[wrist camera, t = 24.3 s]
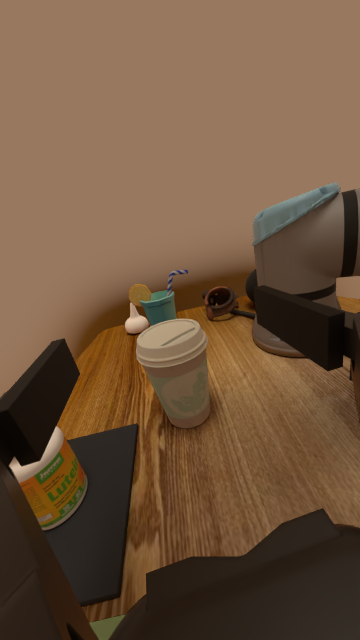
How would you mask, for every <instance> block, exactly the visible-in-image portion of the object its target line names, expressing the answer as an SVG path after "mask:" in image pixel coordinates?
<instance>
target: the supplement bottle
mask: <svg viewBox="0 0 360 640" xmlns="http://www.w3.org/2000/svg"><path fill="white" fill-rule="evenodd" d="M9 466H10V468H11V469H12V471H13V472H14V474H15V476H16V478H17V480H18V482H19V484H20V486H21V488H22V490H23V492H24V494H25V496H26V498H27V500H28V502H29V504H30V506H31V508H32V510H33V512H34V514H35V516H36V518H37V520H38V522H39V524H40V526H41V528H42V530H49V529H52V528H54V527H56V526H58V525H60V524H61V523H63V522H64V521H66V520H67V519H68V518H69V517H70V516H71V515H72V514H73V513H74V512H75V511H76V510H77V508H78V507H79V505H80V504H81V502H82V500H83V498H84V496H85V493H86V490H87V477H86V474H85V472H84V470H83V469H82V467H81V465H80V463H79V462H78V460H77V458H76V456H75V454H74V453H73V451H72V449H71V447H70V445H69V444H68V442H67V440H66V438H65V437H64V435H63V433H62V431H61V430H60V429H59V428H58V427H57V426H56V428H55V430H54V432H53V434H52V436H51V439H50V441H49V443H48V445H47V447H46V450H45V452H44V454H43V456H42V458H41V461H38V462H35V463H32V464H29V465H25V466H22V467H21V465H20V464H19V462H18V461H17V460H16V458H15V457H14V458H13V460H12V462H11V463H10V465H9Z"/></svg>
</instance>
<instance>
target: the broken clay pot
mask: <svg viewBox="0 0 360 640" xmlns="http://www.w3.org/2000/svg"><path fill="white" fill-rule="evenodd" d="M216 293H218V295H215V294H216ZM202 297H203V299H204V300H205V307H206V309H207V316H208V318H210V319H211V320H213V317H218V316H221V315H224V314H227V313H228V311H231V310H232V309H233V308H234V307H237V308H238V306H239V305H238V301H236V300H235V299H237V298H238V297H239V296H238V295H237V294H235V293H234V291H232V289H230V288H228V287H224V286H221V287H220V286H219V287H216V288H214V289H212V290H206V291H204V292H203V293H202ZM216 303H217V304H218V306H215V305H216Z"/></svg>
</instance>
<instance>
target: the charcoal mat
mask: <svg viewBox="0 0 360 640" xmlns="http://www.w3.org/2000/svg"><path fill="white" fill-rule="evenodd" d="M137 433H138V425H137V423H136V424H132V425H128V426H124V427H120V428H116V429H112V430H108V431H104V432H100V433H96V434H92V435H88V436H84V437H79V438H75V439H71V440H67V442H68V444H69V445H70V447H71V449H72V451H73V453H74V454H75V456H76V458H77V460H78V462H79V463H80V465H81V467H82V469H83V470H84V472H85V474H86V477H87V490H86V493H85V496H84V498H83V500H82V502H81V504H80V505H79V507H78V508H77V510H76V511H75V512H74V513H73V514H72V515H71V516H70V517H69V518H68V519H67V520H66V521H64V522H63V523H61V524H60V525H58V526H56V527H54V528H52V529H49V530H43V532H44V534H45V536H46V538H47V540H48V542H49V544H50V546H51V548H52V550H53V552H54V554H55V556H56V558H57V560H58V562H59V564H60V566H61V568H62V570H63V572H64V574H65V576H66V578H67V580H68V582H69V584H70V586H71V588H72V590H73V592H74V594H75V596H76V598H77V600H78V602H79V604H80V606H85V605H89V604H93V603H97V602H101V601H105V600H109V599H113V598H117V597H119V596H120V589H121V580H122V571H123V562H124V553H125V543H126V534H127V525H128V516H129V507H130V497H131V488H132V479H133V470H134V461H135V452H136V442H137Z"/></svg>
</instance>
